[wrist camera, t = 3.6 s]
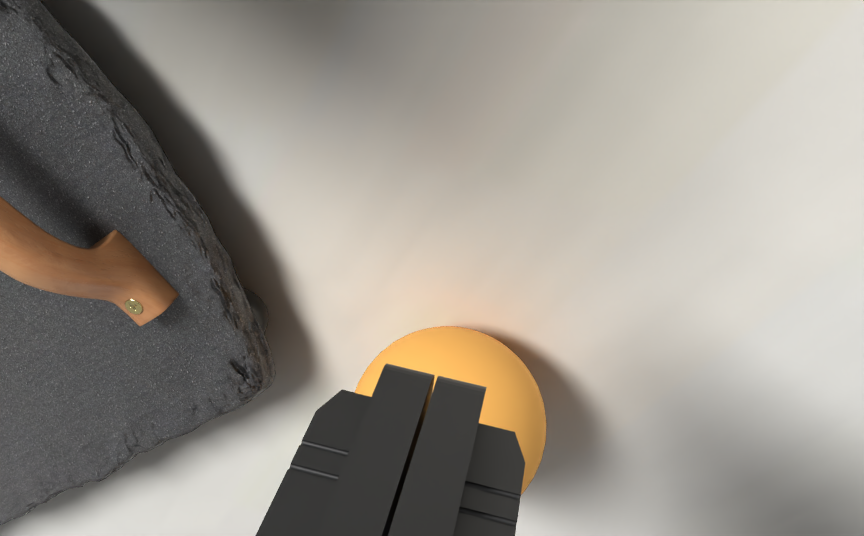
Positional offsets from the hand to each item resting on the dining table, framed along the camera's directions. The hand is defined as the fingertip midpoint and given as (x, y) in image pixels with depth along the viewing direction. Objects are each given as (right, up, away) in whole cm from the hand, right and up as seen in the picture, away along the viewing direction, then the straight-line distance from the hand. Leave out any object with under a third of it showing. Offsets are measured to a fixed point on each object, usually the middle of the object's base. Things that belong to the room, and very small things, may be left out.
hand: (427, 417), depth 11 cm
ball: (+1, -3, +12) cm, 13 cm away
